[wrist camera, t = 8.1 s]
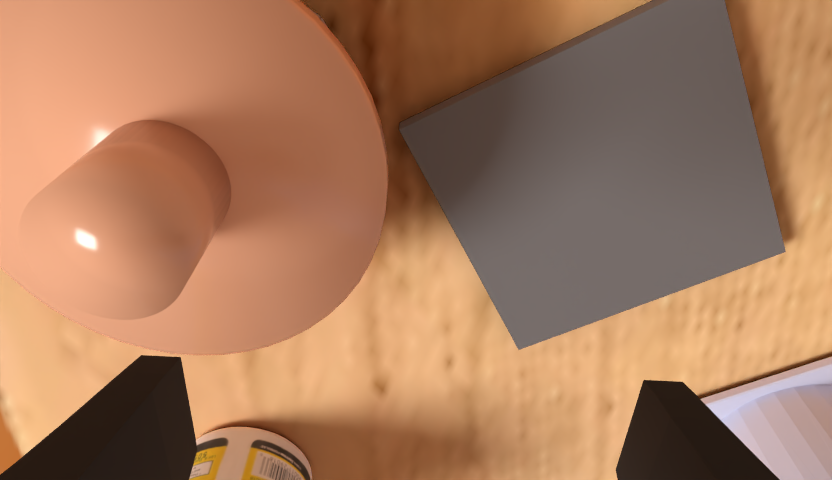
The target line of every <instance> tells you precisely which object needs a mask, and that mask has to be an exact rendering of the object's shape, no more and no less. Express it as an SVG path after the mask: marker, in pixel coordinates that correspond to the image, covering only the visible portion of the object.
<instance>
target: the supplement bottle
mask: <svg viewBox="0 0 832 480" xmlns="http://www.w3.org/2000/svg"><path fill="white" fill-rule="evenodd" d="M196 444H197V453H196V457H195V460H194V464H193V468H192V471H191V475H190V478H189V480H312V472H311V468H310V465H309V462H308V460H307V458H306V457H305V456H304V454H303V453H302V452H301V451H300V449H299V448H297V447H296V446H295V445H294V444H293V443H291V442H290V441H289V440H287V439H285V438H284V437H282V436H280V435H278V434H275V433H273V432H270V431H266V430H262V429H258V428H251V427H228V428H222V429H218V430H214V431H211V432H209V433H206V434H204V435H202V436H201V437H199V438H198V439H196Z"/></svg>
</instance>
